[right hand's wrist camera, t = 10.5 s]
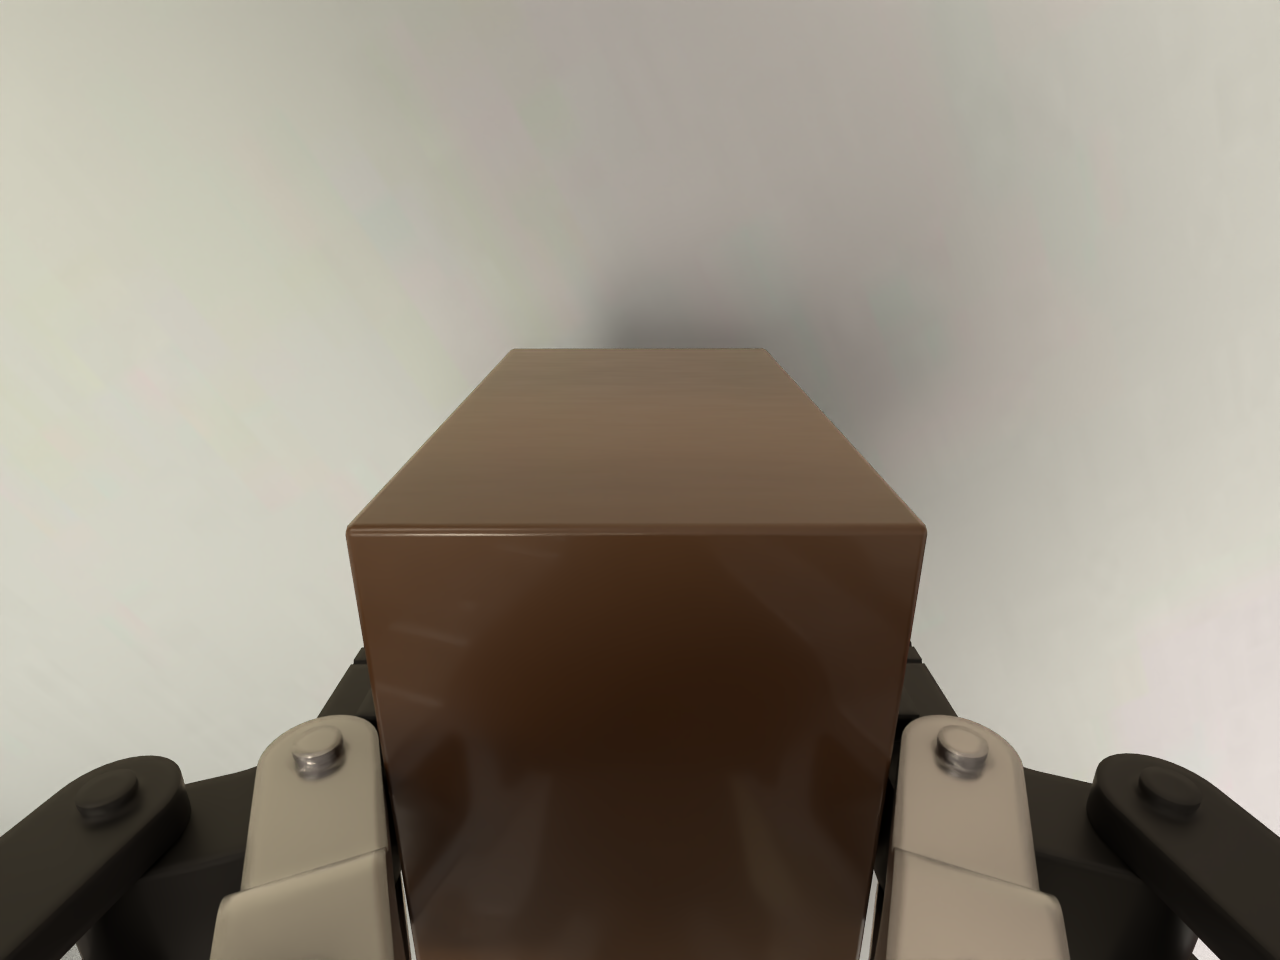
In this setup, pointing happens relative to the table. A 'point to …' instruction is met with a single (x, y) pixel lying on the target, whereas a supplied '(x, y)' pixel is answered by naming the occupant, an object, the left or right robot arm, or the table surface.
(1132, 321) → the table surface
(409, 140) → the table surface
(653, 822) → the bar
